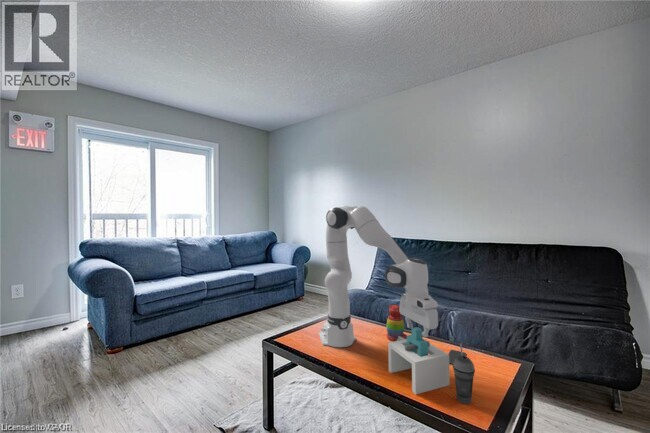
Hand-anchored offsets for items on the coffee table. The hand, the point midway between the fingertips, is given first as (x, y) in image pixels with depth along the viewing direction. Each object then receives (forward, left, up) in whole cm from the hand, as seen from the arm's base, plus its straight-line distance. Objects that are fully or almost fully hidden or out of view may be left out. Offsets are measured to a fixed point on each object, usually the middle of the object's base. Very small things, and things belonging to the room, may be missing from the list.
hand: (417, 332), depth 120 cm
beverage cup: (+18, +6, -19) cm, 27 cm away
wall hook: (-16, +7, -19) cm, 26 cm away
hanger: (0, 0, -14) cm, 14 cm away
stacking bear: (-36, +14, -19) cm, 43 cm away
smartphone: (-7, +27, -19) cm, 34 cm away
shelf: (0, 0, -19) cm, 19 cm away
